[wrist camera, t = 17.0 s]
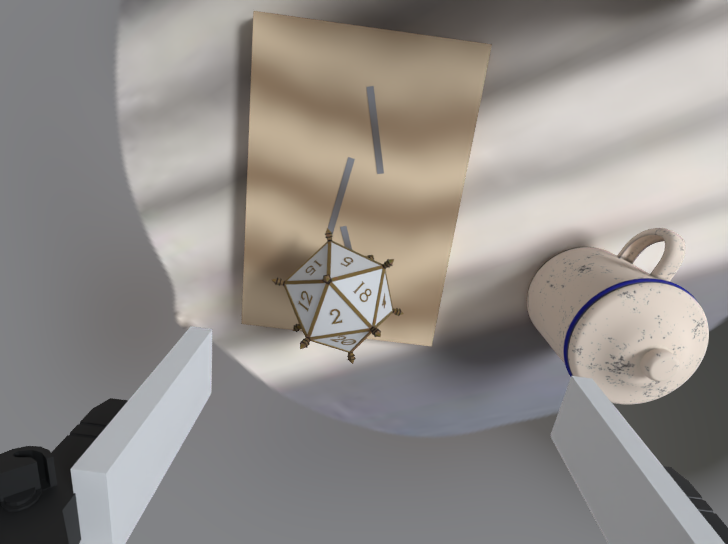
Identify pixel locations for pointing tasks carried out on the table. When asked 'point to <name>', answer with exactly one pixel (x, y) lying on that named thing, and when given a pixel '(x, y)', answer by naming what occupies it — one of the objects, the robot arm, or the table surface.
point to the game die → (339, 297)
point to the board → (357, 159)
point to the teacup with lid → (621, 318)
